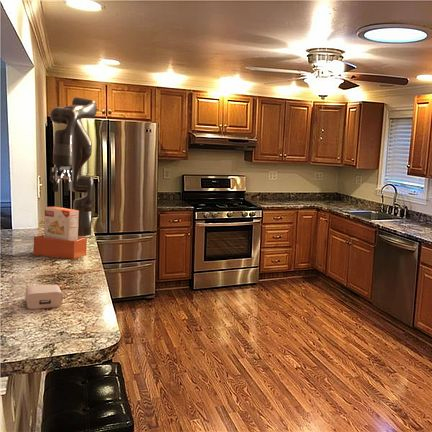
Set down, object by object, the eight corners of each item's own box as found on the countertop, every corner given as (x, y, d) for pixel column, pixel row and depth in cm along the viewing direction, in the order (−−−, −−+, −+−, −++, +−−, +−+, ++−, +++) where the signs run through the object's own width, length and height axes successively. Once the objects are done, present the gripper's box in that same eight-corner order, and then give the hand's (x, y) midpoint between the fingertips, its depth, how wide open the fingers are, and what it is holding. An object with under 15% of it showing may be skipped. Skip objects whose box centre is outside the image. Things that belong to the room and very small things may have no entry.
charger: (56, 292, 154) (61, 306, 142) (24, 294, 149) (27, 309, 137) (56, 279, 154) (62, 291, 141) (24, 280, 149) (27, 293, 136)
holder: (47, 250, 213) (48, 233, 212) (86, 254, 212) (87, 237, 211) (33, 254, 203) (33, 236, 202) (73, 259, 201) (74, 241, 200)
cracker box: (42, 253, 206) (44, 206, 204) (53, 251, 212) (55, 206, 210) (67, 258, 202) (69, 210, 200) (77, 255, 208) (79, 209, 205)
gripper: (61, 154, 195) (60, 192, 197) (79, 155, 209) (78, 191, 211) (44, 153, 195) (43, 191, 197) (63, 154, 210) (62, 189, 211)
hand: (61, 191), depth 204 cm, fingers open, 8 cm apart
